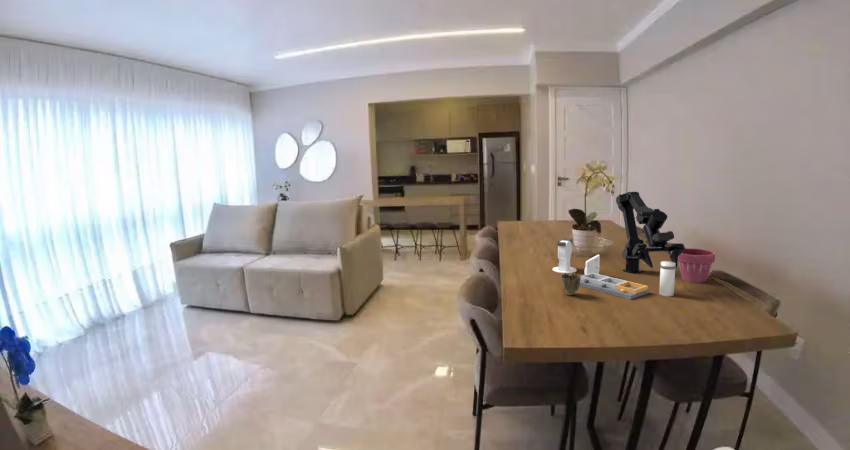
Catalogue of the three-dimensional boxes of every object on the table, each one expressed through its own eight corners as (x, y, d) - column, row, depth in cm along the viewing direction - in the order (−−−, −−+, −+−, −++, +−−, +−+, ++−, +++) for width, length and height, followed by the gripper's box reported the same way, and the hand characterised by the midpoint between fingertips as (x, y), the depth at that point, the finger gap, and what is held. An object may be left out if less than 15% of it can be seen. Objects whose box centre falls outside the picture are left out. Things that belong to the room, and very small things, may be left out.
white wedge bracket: (609, 270, 191) (599, 255, 190) (589, 281, 192) (580, 266, 192) (606, 268, 194) (597, 253, 194) (587, 279, 196) (578, 264, 195)
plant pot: (677, 283, 177) (679, 254, 175) (671, 274, 190) (673, 247, 188) (717, 285, 171) (719, 256, 169) (708, 276, 184) (710, 248, 182)
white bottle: (663, 291, 167) (664, 260, 165) (676, 294, 163) (678, 262, 161) (656, 294, 165) (658, 262, 163) (669, 297, 160) (671, 265, 158)
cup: (580, 292, 170) (580, 273, 169) (580, 298, 163) (581, 278, 162) (561, 291, 173) (561, 272, 171) (560, 296, 166) (561, 277, 165)
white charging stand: (557, 265, 213) (557, 237, 210) (579, 268, 206) (580, 239, 204) (549, 271, 203) (549, 241, 201) (572, 274, 196) (573, 243, 194)
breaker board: (593, 278, 188) (593, 272, 188) (649, 292, 166) (649, 285, 166) (574, 284, 181) (574, 277, 181) (630, 299, 159) (630, 292, 159)
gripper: (636, 224, 169) (646, 257, 160) (684, 223, 167) (697, 256, 158) (628, 240, 178) (637, 271, 169) (673, 239, 176) (685, 270, 167)
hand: (664, 267), depth 165 cm, fingers open, 9 cm apart
